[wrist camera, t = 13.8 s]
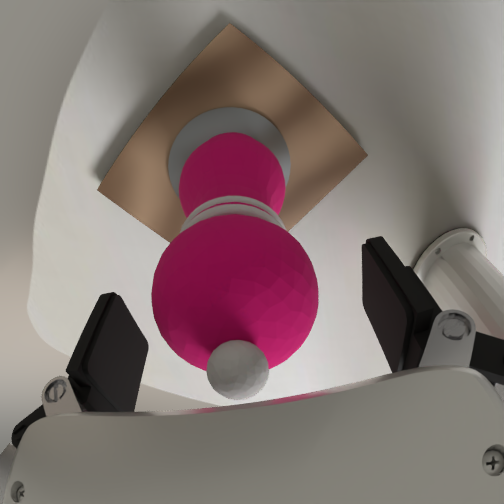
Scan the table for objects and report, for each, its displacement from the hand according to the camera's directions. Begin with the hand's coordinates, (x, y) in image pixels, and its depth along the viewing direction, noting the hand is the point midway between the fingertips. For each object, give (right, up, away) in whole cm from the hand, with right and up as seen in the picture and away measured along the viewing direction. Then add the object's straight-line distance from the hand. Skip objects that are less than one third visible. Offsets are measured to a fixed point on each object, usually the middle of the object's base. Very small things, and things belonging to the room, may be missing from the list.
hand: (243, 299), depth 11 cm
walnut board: (-2, +10, +15) cm, 18 cm away
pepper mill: (-1, +9, +14) cm, 16 cm away
